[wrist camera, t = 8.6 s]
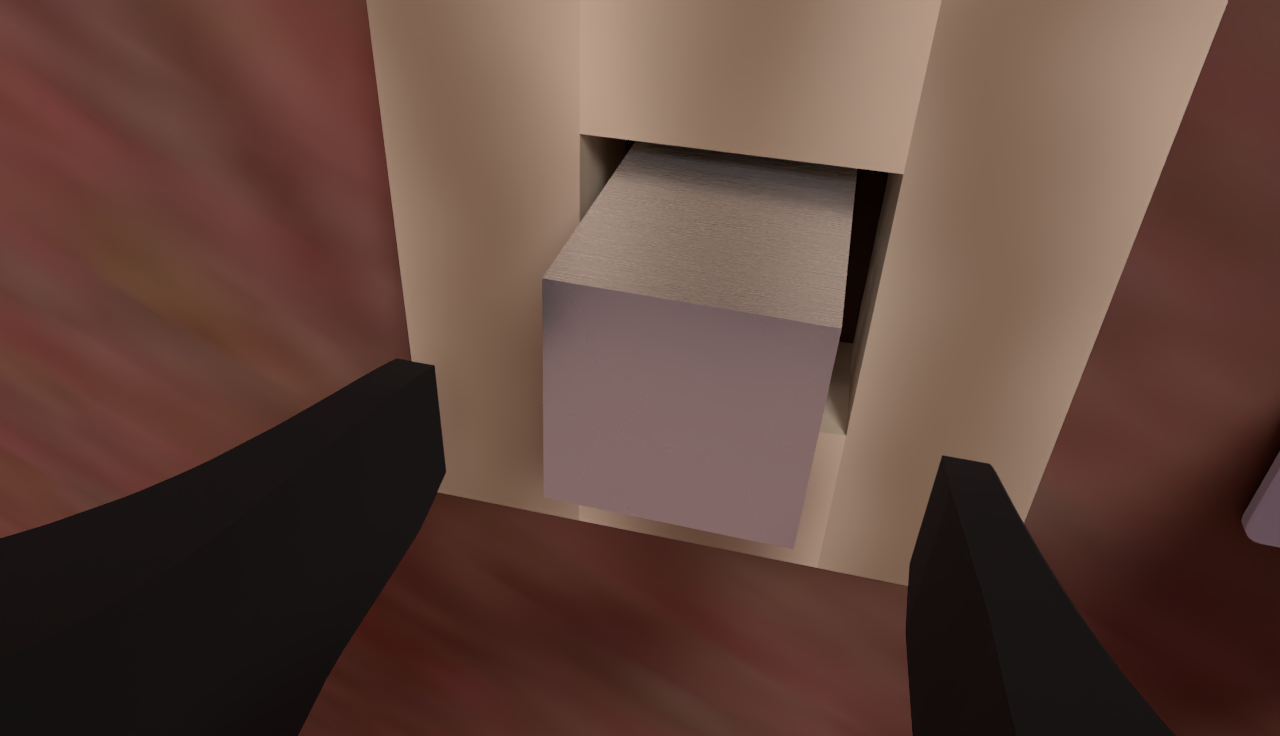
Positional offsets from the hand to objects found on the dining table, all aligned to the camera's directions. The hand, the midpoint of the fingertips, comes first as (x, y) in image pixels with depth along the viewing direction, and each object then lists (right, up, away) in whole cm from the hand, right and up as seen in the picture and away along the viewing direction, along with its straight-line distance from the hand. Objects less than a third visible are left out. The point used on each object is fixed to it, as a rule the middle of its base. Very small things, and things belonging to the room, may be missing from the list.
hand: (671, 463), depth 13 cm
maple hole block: (+2, +5, +7) cm, 8 cm away
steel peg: (+2, +5, +7) cm, 9 cm away
